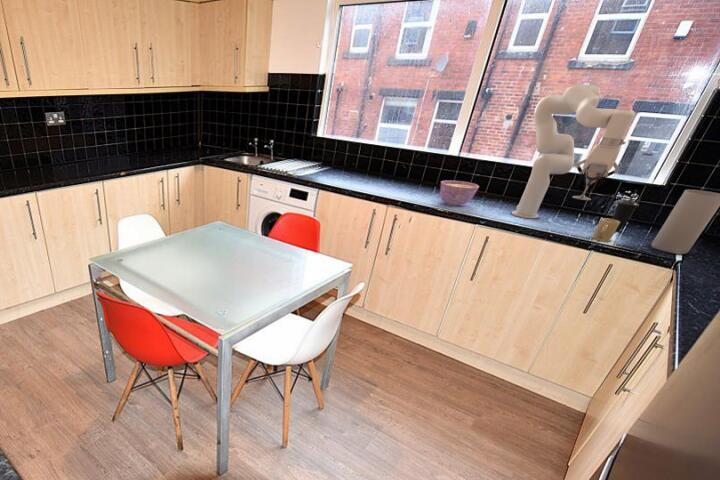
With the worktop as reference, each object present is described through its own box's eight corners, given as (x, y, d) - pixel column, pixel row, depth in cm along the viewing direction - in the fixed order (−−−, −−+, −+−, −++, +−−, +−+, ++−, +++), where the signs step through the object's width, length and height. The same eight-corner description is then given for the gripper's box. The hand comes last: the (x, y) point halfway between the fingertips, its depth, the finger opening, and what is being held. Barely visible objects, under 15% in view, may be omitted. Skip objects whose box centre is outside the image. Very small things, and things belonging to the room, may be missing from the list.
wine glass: (595, 200, 194) (613, 166, 186) (576, 199, 196) (593, 165, 187) (586, 196, 201) (603, 163, 193) (568, 195, 202) (584, 162, 194)
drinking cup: (619, 229, 216) (642, 189, 206) (626, 233, 210) (650, 192, 199) (601, 227, 218) (623, 187, 208) (607, 231, 212) (630, 190, 201)
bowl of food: (473, 203, 252) (480, 183, 246) (470, 210, 238) (478, 189, 232) (437, 198, 261) (443, 178, 255) (432, 204, 247) (438, 184, 240)
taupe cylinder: (694, 254, 187) (734, 196, 174) (673, 255, 185) (711, 197, 171) (663, 244, 197) (699, 189, 184) (643, 245, 195) (677, 189, 181)
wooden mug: (593, 235, 206) (603, 217, 201) (611, 239, 201) (621, 221, 196) (587, 239, 200) (598, 221, 195) (606, 243, 195) (617, 224, 190)
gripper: (635, 144, 183) (612, 186, 193) (585, 139, 192) (566, 180, 202) (635, 145, 178) (612, 189, 188) (584, 141, 187) (565, 182, 197)
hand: (588, 184), depth 195 cm, fingers closed on wine glass, 7 cm apart
